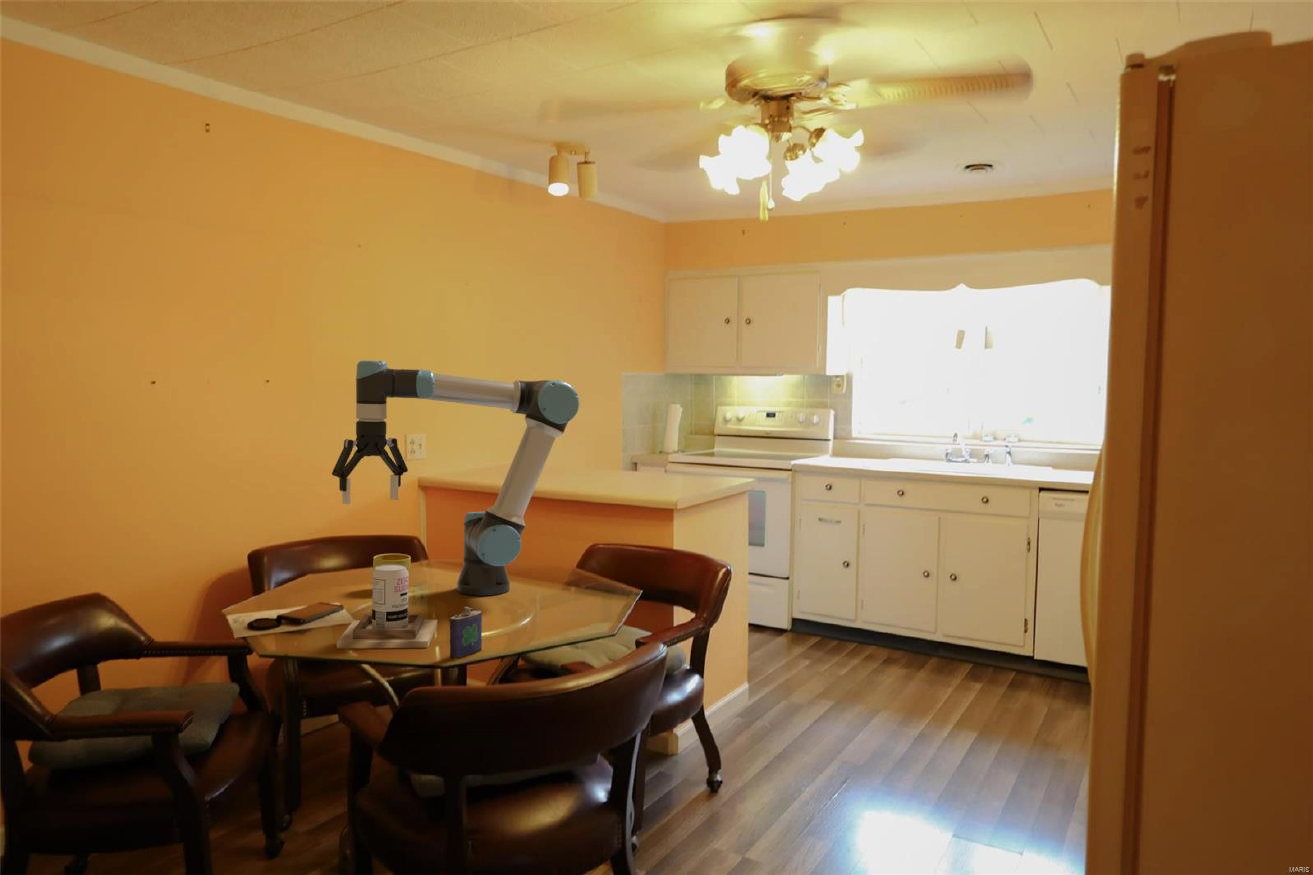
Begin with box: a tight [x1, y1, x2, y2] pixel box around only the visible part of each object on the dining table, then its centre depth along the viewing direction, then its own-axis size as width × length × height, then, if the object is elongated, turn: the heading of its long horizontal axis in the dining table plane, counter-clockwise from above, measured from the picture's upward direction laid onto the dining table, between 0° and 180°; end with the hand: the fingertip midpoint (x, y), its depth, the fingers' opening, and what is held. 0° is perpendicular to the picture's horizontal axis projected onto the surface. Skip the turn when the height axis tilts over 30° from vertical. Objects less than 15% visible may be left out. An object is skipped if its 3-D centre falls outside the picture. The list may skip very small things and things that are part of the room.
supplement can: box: [371, 564, 410, 629], centre depth 206 cm, size 8×8×15 cm
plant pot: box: [372, 553, 412, 572], centre depth 250 cm, size 10×10×10 cm
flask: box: [449, 606, 483, 660], centre depth 195 cm, size 9×3×11 cm, turn 148°
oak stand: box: [336, 613, 438, 650], centre depth 206 cm, size 20×18×4 cm
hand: (370, 501), depth 227 cm, fingers open, 13 cm apart
